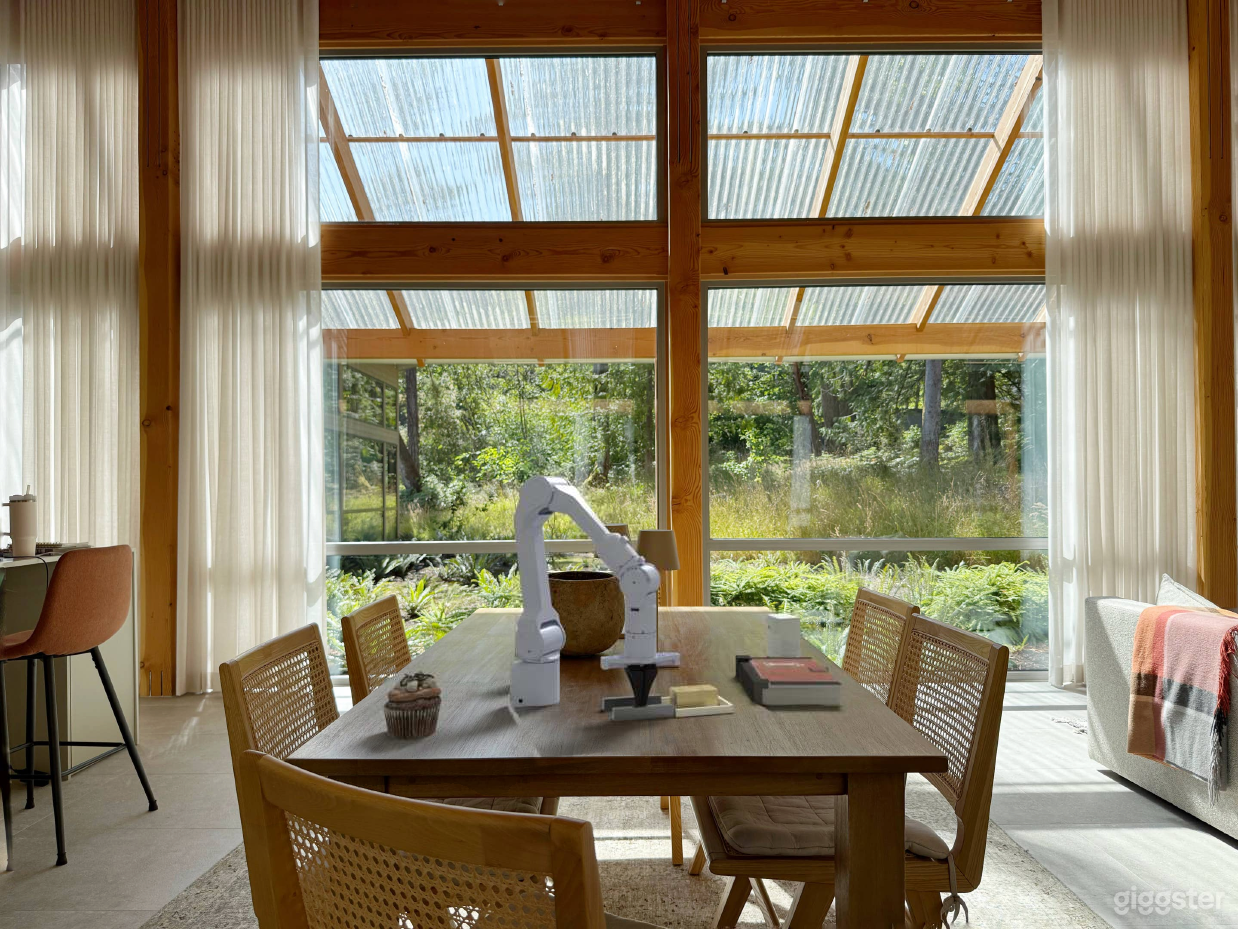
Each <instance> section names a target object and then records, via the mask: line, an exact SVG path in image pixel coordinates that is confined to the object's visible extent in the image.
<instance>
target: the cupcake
mask: <svg viewBox="0 0 1238 929" xmlns="http://www.w3.org/2000/svg"><path fill="white" fill-rule="evenodd" d="M441 694H442V689H441V688H440V687H439V685H437V680H436V679H435V676H434V675H432V674H431V673H430V674H429V673H423V671H420V670H419V671H418V672H416V673H414V674H413V675H410V674H407V673H404V676H403V677H402V678H401V679H400V680H398V681H397V682H396V685H395V686H394V687H393V688H392V689H391V690H390V691H389V692H388V693H387V698H388V701H387V702H385V703H384V704H383V706H382V709H383V712H384V718H385V723H386V729H387V735H388V736H389V738H392V739H397V740H417V739H422V738H426V737H428V736H429V737H430V736H431V735H434V734H435V733H436V729H437V726H438V719H439V716H440V715H439V714H440V711H441V710H440V709H441V704H442V698H441V696H440V695H441ZM433 733H434V734H433Z"/></svg>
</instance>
